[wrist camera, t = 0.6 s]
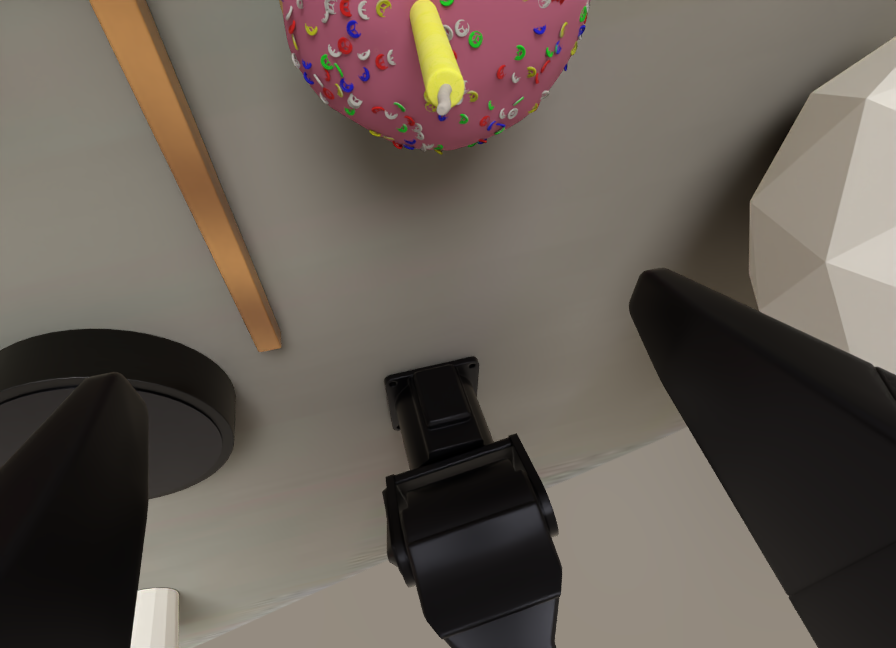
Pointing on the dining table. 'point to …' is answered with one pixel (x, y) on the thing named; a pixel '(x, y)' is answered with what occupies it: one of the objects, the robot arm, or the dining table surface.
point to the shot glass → (156, 619)
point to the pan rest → (186, 156)
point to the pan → (152, 376)
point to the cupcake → (433, 62)
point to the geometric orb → (834, 216)
